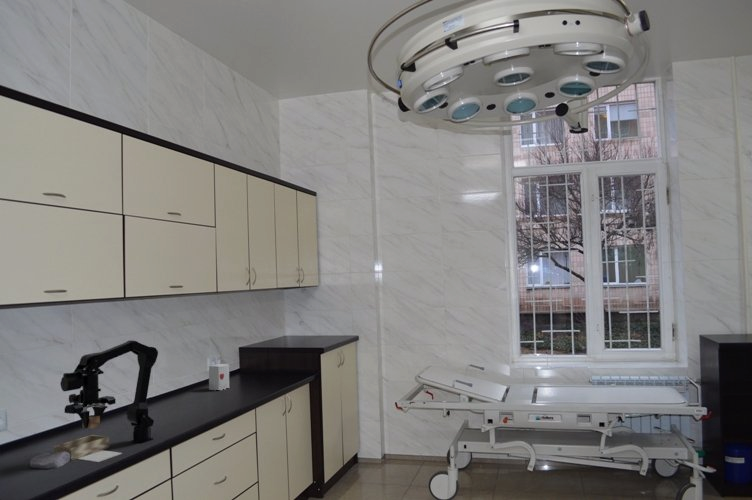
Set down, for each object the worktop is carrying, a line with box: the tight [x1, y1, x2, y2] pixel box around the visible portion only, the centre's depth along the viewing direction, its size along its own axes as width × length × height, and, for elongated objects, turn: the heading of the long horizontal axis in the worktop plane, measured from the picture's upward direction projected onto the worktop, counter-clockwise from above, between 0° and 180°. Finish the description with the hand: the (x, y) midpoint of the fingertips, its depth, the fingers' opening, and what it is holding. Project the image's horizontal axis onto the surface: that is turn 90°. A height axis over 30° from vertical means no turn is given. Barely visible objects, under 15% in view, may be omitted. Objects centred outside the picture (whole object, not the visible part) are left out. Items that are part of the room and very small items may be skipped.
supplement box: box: [208, 363, 230, 391], centre depth 355 cm, size 9×9×15 cm
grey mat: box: [77, 450, 123, 463], centre depth 222 cm, size 11×11×1 cm
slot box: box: [53, 434, 110, 462], centre depth 228 cm, size 17×10×4 cm, turn 155°
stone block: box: [29, 451, 70, 469], centre depth 214 cm, size 12×5×10 cm
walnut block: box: [81, 414, 101, 430], centre depth 226 cm, size 4×5×4 cm
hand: (91, 426), depth 226 cm, fingers closed on walnut block, 4 cm apart
